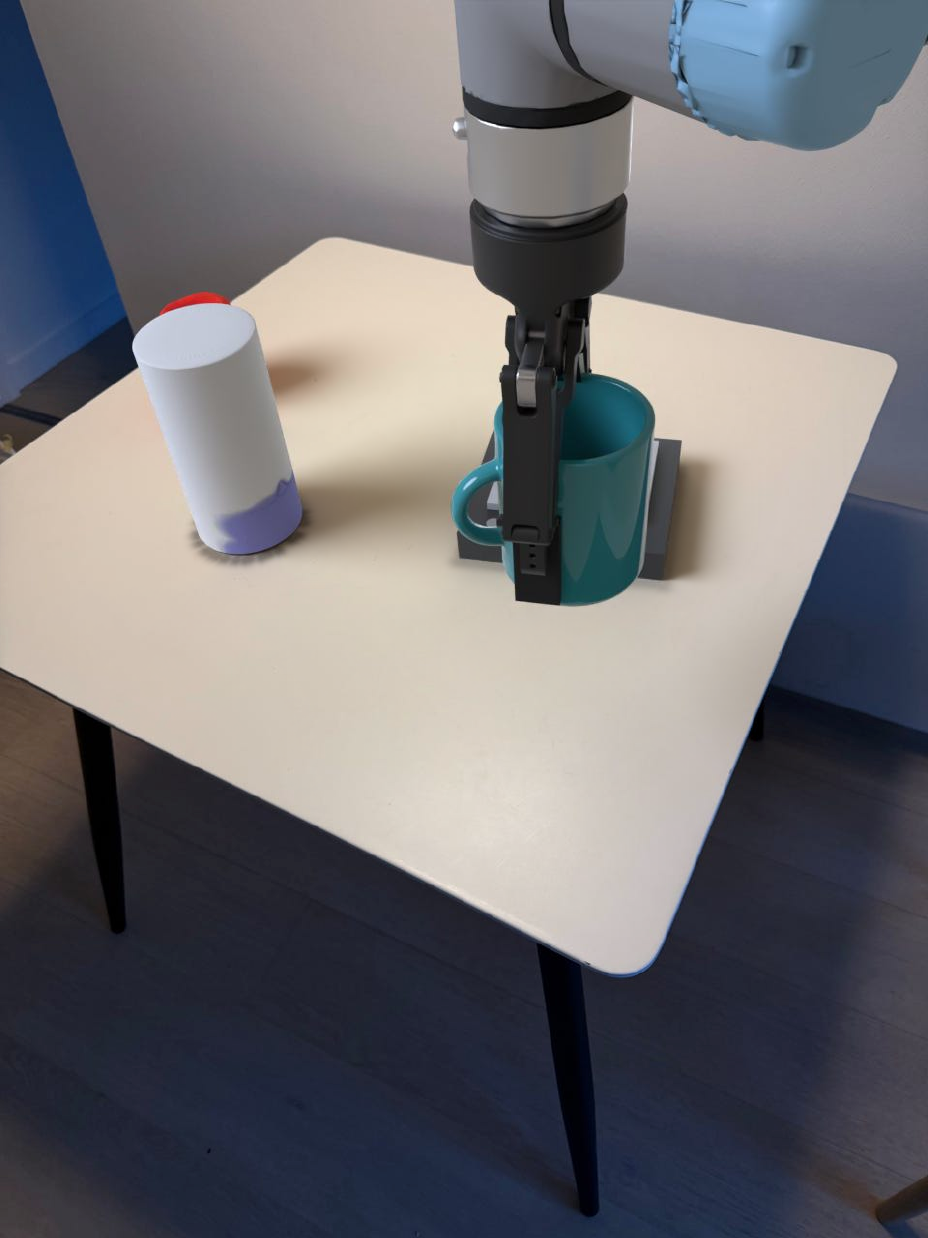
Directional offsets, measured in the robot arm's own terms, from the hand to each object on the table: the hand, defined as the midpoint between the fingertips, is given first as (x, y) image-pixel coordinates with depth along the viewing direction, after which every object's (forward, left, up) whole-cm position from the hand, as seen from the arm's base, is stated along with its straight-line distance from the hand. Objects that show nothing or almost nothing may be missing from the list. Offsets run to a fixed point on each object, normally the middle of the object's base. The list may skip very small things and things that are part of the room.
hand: (551, 544), depth 63 cm
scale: (+2, -24, -18) cm, 30 cm away
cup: (0, +1, -1) cm, 2 cm away
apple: (+44, -38, -18) cm, 61 cm away
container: (+32, -18, -18) cm, 41 cm away
